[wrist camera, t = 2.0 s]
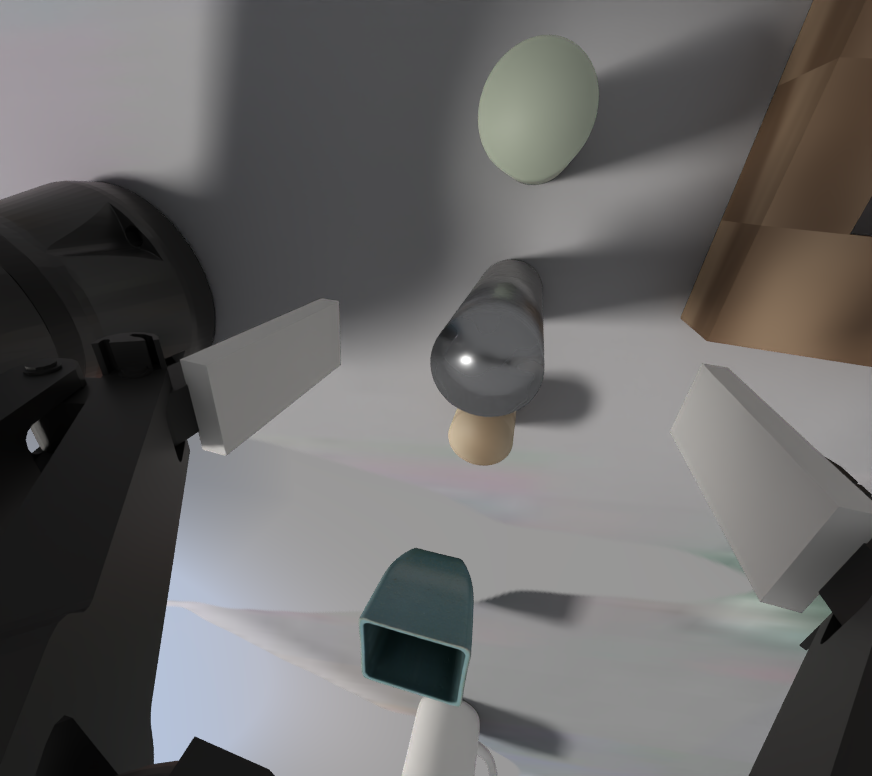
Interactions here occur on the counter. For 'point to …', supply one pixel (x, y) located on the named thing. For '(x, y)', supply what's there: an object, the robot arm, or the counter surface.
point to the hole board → (801, 207)
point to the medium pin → (538, 108)
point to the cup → (445, 741)
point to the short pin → (481, 437)
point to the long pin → (493, 343)
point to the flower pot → (420, 627)
